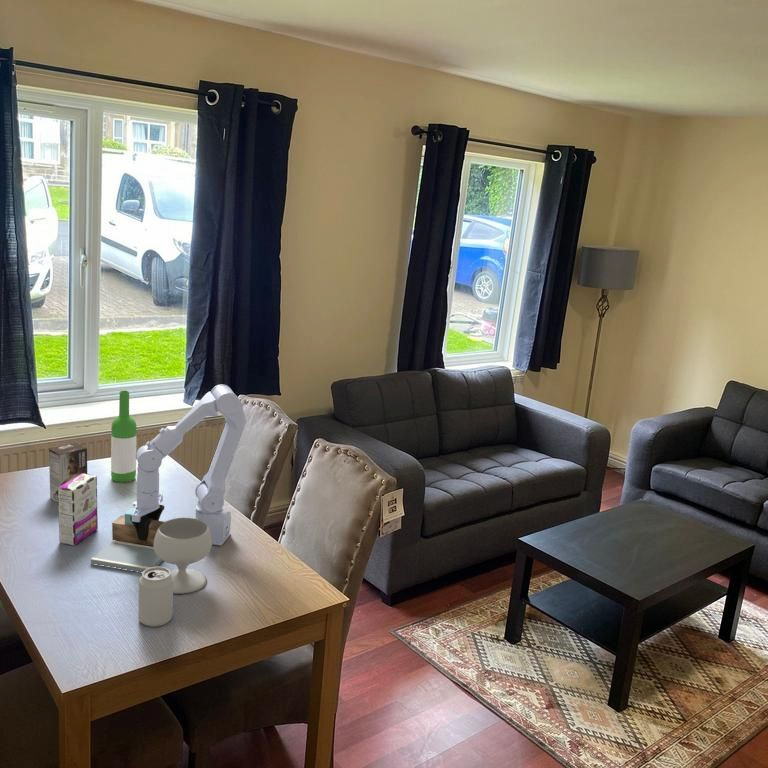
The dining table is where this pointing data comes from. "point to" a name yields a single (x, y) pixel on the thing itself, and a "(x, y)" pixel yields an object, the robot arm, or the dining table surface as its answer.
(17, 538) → the dining table surface
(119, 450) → the wine bottle
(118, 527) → the tan block
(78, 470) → the coffee box
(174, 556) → the chalice
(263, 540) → the dining table surface
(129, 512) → the teal cube block
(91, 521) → the candy bar box
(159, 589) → the can
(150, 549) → the dock
